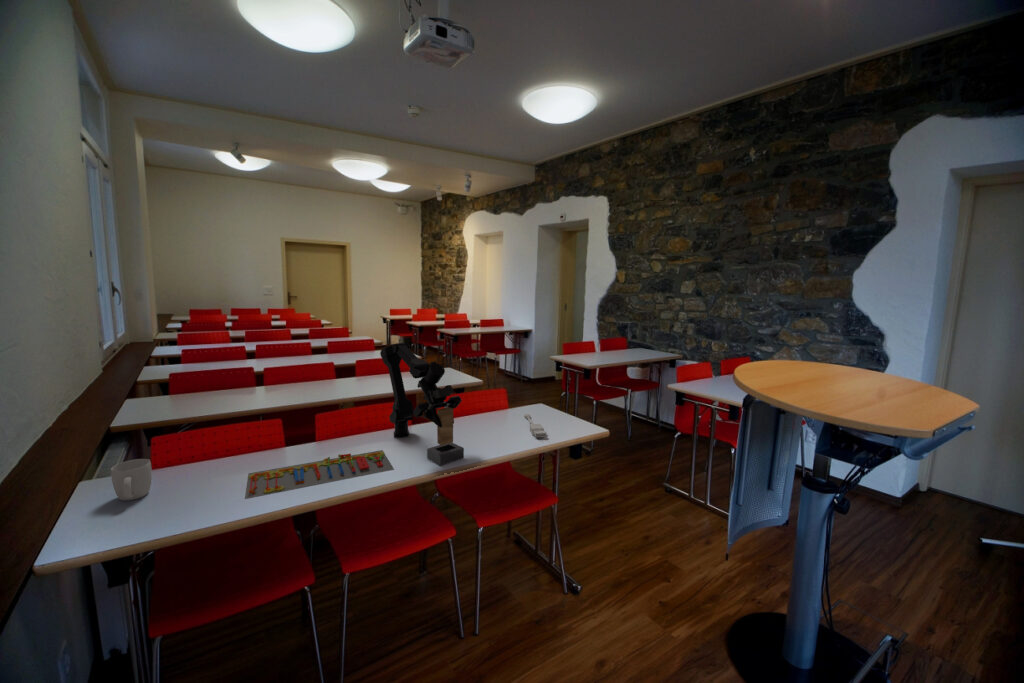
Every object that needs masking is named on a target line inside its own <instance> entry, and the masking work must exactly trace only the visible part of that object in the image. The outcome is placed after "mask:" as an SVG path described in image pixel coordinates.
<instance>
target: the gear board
mask: <svg viewBox="0 0 1024 683" xmlns="http://www.w3.org/2000/svg"><path fill="white" fill-rule="evenodd" d="M393 470H395V469H394V466H393V464H392V463H391V462H390V460H389V459H388V457H387V455H386V453H385V452H384V450H383V449H381V450H375V451H369V452H362V453H359V454H352V453H345V454H337V457H336V458H331V457H326V458H324V459H322V460H317V461H312V462H311V461H310V462H306V463H301V464H295V465H288V466H282V467H276V468H271V469H264V470H260V471H253V472H248V475H247V482H246V488H245V494H244V500H247V499H252V498H258V497H262V496H263V497H264V496H266V495H271V494H277V493H282V492H283V493H284V492H288V491H292V490H298V489H302V488H307V487H313V486H318V485H322V484H324V485H325V484H328V483H334V482H338V481H342V480H348V479H353V478H358V477H364V476H368V475H373V474H377V473H378V474H379V473H384V472H389V471H393Z"/></svg>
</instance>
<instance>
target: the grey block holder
mask: <svg viewBox="0 0 1024 683" xmlns="http://www.w3.org/2000/svg"><path fill="white" fill-rule="evenodd" d="M426 450H427V453H426V456H427V460H428V461H431V462H432V463H434V464H436V465H437V466H440V467H441V466H445V465H448V464H450V463H451V464H452V463H453V462H456V461H459V460H462V459H465V456H464V454H465V449H464V447H463V446H460V445H459V444H456V443H455V442H452V443H448V444H445V445H440V444H438V445H435V446H432V447H428V448H427V449H426Z"/></svg>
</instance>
